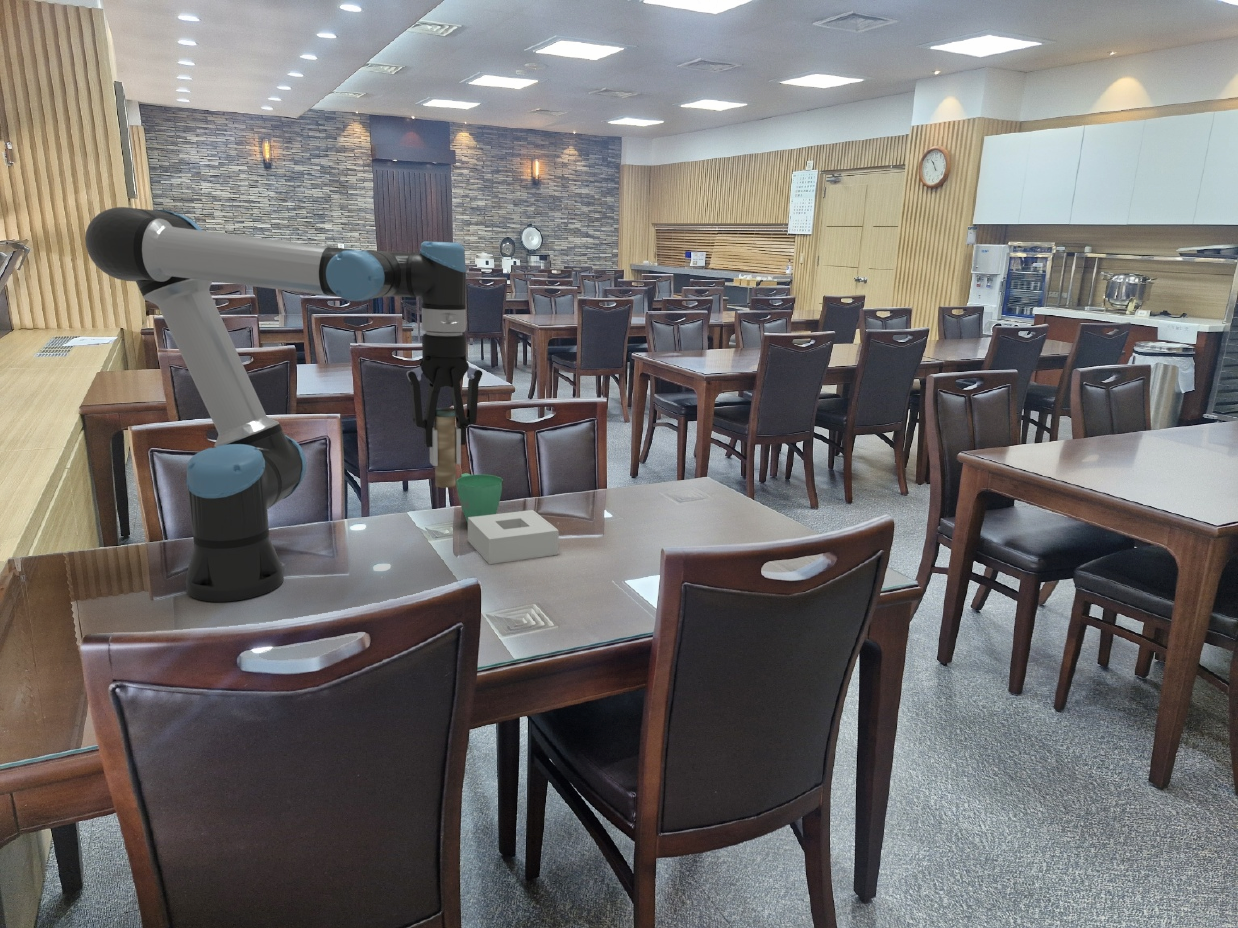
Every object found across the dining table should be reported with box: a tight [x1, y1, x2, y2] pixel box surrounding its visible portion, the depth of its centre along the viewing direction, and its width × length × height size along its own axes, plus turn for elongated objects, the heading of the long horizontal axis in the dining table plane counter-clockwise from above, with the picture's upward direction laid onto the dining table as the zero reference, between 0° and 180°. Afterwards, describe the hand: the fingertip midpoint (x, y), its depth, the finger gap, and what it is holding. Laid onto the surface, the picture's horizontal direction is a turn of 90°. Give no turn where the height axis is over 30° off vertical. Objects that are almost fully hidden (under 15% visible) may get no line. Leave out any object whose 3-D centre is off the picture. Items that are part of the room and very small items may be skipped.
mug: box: [455, 472, 504, 524], centre depth 175 cm, size 15×10×10 cm
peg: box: [434, 407, 457, 489], centre depth 147 cm, size 4×4×14 cm
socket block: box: [467, 509, 560, 565], centre depth 161 cm, size 14×14×5 cm
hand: (445, 463), depth 147 cm, fingers closed on peg, 3 cm apart
